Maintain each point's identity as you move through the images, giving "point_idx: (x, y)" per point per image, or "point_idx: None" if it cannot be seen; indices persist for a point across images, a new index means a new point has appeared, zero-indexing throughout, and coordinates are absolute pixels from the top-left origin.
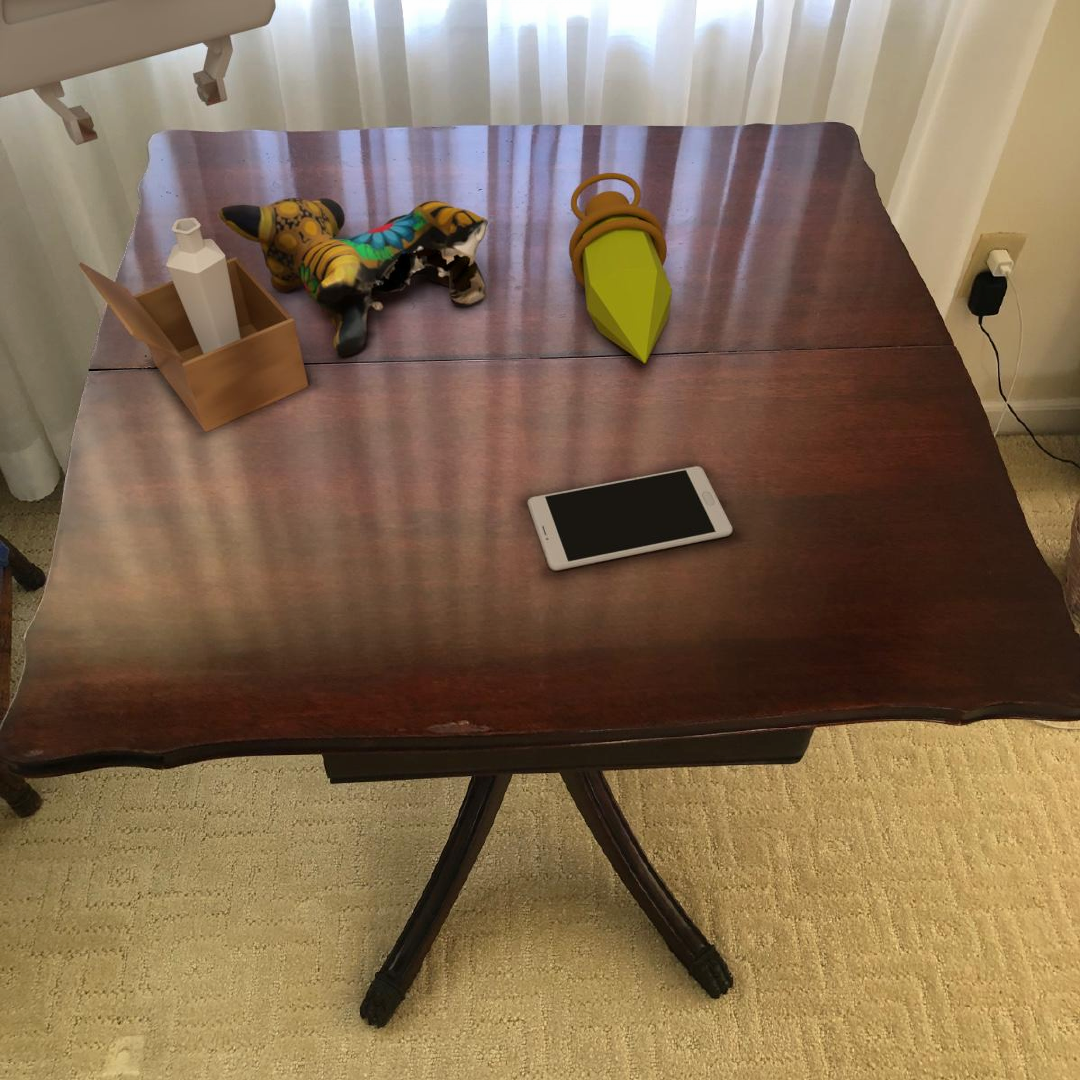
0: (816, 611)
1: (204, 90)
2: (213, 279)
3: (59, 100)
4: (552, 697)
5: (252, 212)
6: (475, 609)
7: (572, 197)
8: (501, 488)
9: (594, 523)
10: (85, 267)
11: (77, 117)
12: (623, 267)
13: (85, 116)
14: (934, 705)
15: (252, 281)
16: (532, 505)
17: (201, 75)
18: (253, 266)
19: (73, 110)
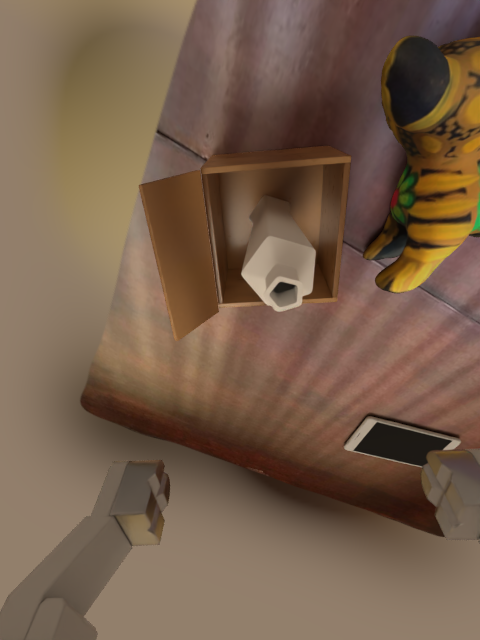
0: (417, 495)
1: (437, 516)
2: (284, 289)
3: (87, 581)
4: (298, 477)
5: (427, 99)
6: (298, 442)
7: None
8: (364, 400)
9: (382, 442)
10: (146, 200)
11: (130, 546)
12: None
13: (148, 541)
14: (409, 525)
15: (339, 216)
16: (366, 422)
17: (473, 519)
18: (395, 8)
19: (124, 523)
